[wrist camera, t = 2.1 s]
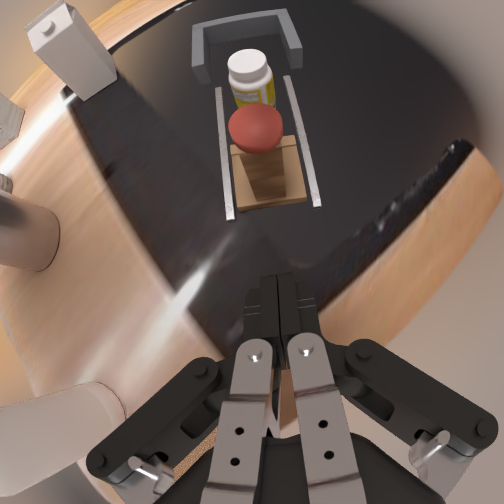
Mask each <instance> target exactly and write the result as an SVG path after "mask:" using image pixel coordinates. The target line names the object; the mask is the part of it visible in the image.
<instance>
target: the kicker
mask: <svg viewBox="0 0 504 504" xmlns="http://www.w3.org/2000/svg"><path fill="white" fill-rule="evenodd" d="M229 132H230V134H231V137H232V139H233V142H234V144H235V145H230V150H231V156H232V163H233V164H232V165H233V173H234V183H235V192H236V201H237V208H238V210H239V211H240V212H243V211H249V210H255V209H262V208H268V207H274V206H281V205H288V204H295V203H302V202H306V199H307V198H306V197H307V196H306V191H305V185H304V180H303V175H302V171H301V166H300V161H299V156H298V151H297V147H296V141H295V137H294V135H292V136H283V137H282V135H283V127H282V118H281V116H280V114H279V112H278V111H277V110H276V109H275V108H273V107H272V106H270V105H267V104H263V103H252V104H248V105H245V106H242V107H241V108H239V109H238V110H236V111H235V112H234V114H233V115H232V116H231V118H230V121H229Z"/></svg>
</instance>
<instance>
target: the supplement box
mask: <svg viewBox="0 0 504 504" xmlns="http://www.w3.org/2000/svg"><path fill="white" fill-rule="evenodd" d="M24 112H25V111H24V110H22V109H21V108H20V107H18V106H17V105H16V104H14V103H13V102H12V101H10V100H9V99H8V98H6V97H5V96H4V95H2V94H1V93H0V149H2V148H3V147H5V146H6V145H7V144H9V143H10V142H11V141H12V140H14V139H15V138H16V137H18V134H19V130H20V126H21V122H22V119H23V115H24Z"/></svg>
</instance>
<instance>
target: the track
mask: <svg viewBox="0 0 504 504" xmlns="http://www.w3.org/2000/svg"><path fill="white" fill-rule="evenodd" d="M284 83H285V86H286V90H287V94H288V98H289V102H290V106H291V109H292V113H293V117H294V122H295V126H296V130H297V134H298V138H299V143H300V147H301V151H302V156H303V161H304V165H305V170H306V175H307V179H308V185H309V190H310V195H311V199H312V205H313V209H318V208H321V202H320V196H319V192H318V187H317V183H316V177H315V173H314V168H313V164H312V160H311V155H310V151H309V147H308V142H307V138H306V134H305V130H304V126H303V122H302V119H301V115H300V111H299V107H298V104H297V100H296V96H295V93H294V89H293V86H292V82H291V79H290V76H284ZM222 92H223V91H222V88H221V87H218V88H215V93H216V106H217V117H218V129H219V142H220V153H221V165H222V175H223V186H224V197H225V207H226V217H227V221H228V222H232V221H236V217H235V208H234V199H233V190H232V180H231V172H230V162H229V152H228V142H227V133H226V122H225V112H224V102H223V93H222Z"/></svg>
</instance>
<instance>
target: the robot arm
mask: <svg viewBox="0 0 504 504" xmlns="http://www.w3.org/2000/svg"><path fill="white" fill-rule="evenodd" d="M58 242H59V224H58V220H57V218H56V216H55V215H54V214H53V213H52V212H51V211H49V210H46V209H44V208H42V207H39V206H37V205H35V204H33V203H30V202H28V201H26V200H24V199H21V198H19V197H17V196H14V195H12V194H10V193H8V192H5V191H3V190H1V189H0V264H2V265H7V266H12V267H16V268H22V269H27V270H32V271H41V270H43V269H45V268H46V267H47V266H48V265H49V264H50V262H51V261H52V259H53V257H54V255H55V253H56V250H57V247H58ZM286 361H287V367H288V369H291V375H292V381H293V388H294V395H295V402H296V408H297V415H298V422H299V428H300V434H298V435H295V436H292V437H289V438H285V439H280V429H279V418H280V401H281V370H285V369H286ZM341 395H343V396H344V397H345V398H346V399H347V400H348V401H349V402H351V403H352V404H353V405H355V406H356V407H357V408H359V409H360V410H362V411H363V412H364V413H365V414H367V415H368V416H369V417H371V418H372V419H373V420H375V421H376V422H377V423H379V424H380V425H381V426H383V427H384V428H386V429H387V430H388V431H390V432H391V433H393V434H394V435H395V436H397V437H398V438H400V439H401V440H402V441H404V442H405V443H407V444H408V445H410V446H411V448H410V451H409V461H410V463H411V465H412V466H413V467H414V468H415V469H416V470H417V472H418V475H419V479H418V478H417V477H416V476H414V475H413V474H412V473H410V472H409V471H408V470H406V469H405V468H404V467H403V466H401V465H400V464H399V463H397V462H396V461H395V460H393V459H392V458H391V457H390V456H389V455H387V454H386V453H385V452H384V451H382V450H381V449H380V448H379V447H377V446H376V445H375V444H374V443H372V442H371V441H370V440H368V439H367V438H365V437H363V436H360V435H358V434H355V433H351V432H349V428H348V423H347V419H346V416H345V411H344V407H343V403H342V399H341ZM217 426H218V429H217V435H216V440H215V446H214V447H212V448H211V449H209V450H208V451H207V452H205V453H204V454H203V455H202V456H201V457H200V458H199V459H198V460H197V461H196V462H195V463H194V464H193V465H192V466H191V467H190V468H189V469H188V470H187V471H186V472H185V473H184V474H183V475H182V476H181V477H180V478H179V479H178V480H177V481H176V482H175V483H174V484H173V485H172V486H171V487H170V485H171V484H172V483H173V481H174V471H173V468H174V467H175V466H177V465H178V464H179V463H180V462H181V461H182V460H183V459H184V458H185V457H186V456H187V455H188V454H189V453H190V452H191V451H193V450H194V449H195V448H196V447H197V446H198V445H199V444H200V443H201V442H202V441H203V440H204V439H205V438H206V437H207V436H208V435H209V434H210V433H211V432H212V431H213V430H214V429H215V428H216V427H217ZM497 435H498V422H497V420H496V418H495V417H494V416H493V415H492V414H490V413H489V412H487V411H485V410H484V409H482V408H481V407H479V406H477V405H476V404H474V403H472V402H471V401H469V400H468V399H466V398H464V397H463V396H461V395H460V394H458V393H456V392H455V391H453V390H451V389H450V388H448V387H447V386H445V385H443V384H442V383H440V382H438V381H437V380H435V379H434V378H432V377H430V376H429V375H427V374H426V373H424V372H422V371H421V370H419V369H418V368H416V367H414V366H413V365H411V364H410V363H408V362H407V361H405V360H403V359H401V358H400V357H399V356H397V355H395V354H394V353H392V352H391V351H389V350H387V349H386V348H384V347H383V346H381V345H380V344H378V343H376V342H375V341H373V340H370V339H359V340H356V341H354V342H352V343H351V344H350V345H349V346H342V345H335V344H332V343H330V342H328V341H327V340H326V339H325V338H324V337H323V336H322V334H321V330H320V325H319V319H318V314H317V308H316V303H315V299H314V293H313V288H312V287H311V286H310V285H309V284H308V283H307V281H306V282H299V283H295V280H294V273H293V272H289V273H282V274H278V279H277V275H268V276H261V277H260V288H256V289H250V291H249V293H248V294H247V296H246V298H245V316H244V330H243V343H242V345H241V346H240V347H239V348H238V350H237V353H236V354H234V355H233V356H231V357H229V358H227V359H224V360H221V361H218V362H215V361H214V360H213V359H211V358H208V357H200V358H196V359H194V360H192V361H191V362H190V363H188V364H187V365H186V366H185V367H184V368H183V369H182V370H181V371H180V372H179V373H178V374H177V375H176V376H174V377H173V378H172V379H171V380H170V381H169V382H168V383H167V384H166V385H165V386H164V387H162V388H161V389H160V390H159V391H158V392H157V393H156V394H155V395H154V396H152V397H151V398H150V399H149V400H148V401H147V402H146V403H145V404H144V405H142V406H141V407H140V408H139V409H138V410H137V411H136V412H135V413H133V414H132V415H131V416H130V417H129V418H128V419H127V420H125V421H124V422H123V423H122V424H121V425H120V426H119V427H117V428H116V429H115V430H114V431H113V432H112V433H110V434H109V435H108V436H107V437H106V438H105V439H103V440H102V441H101V442H100V443H99V444H98V445H96V446H95V447H94V448H93V449H92V450H91V451H90V452H89V453H88V455H87V458H86V466H87V469H88V471H89V472H90V474H91V475H93V476H94V477H96V478H99V479H101V480H103V481H105V482H106V483H108V484H110V485H111V486H112V487H113V489H114V490H115V491H116V492H117V494H118V495H119V496H120V497H121V499H122V500H123V501H124V502H125V504H446V503H445V501H444V500H445V498H446V497H447V496H448V495H449V493H450V492H451V491H452V489H453V488H454V486H455V485H456V484H457V482H458V481H459V480H460V478H461V477H462V475H463V474H464V472H465V471H466V469H467V468H468V466H469V465H470V463H471V461H472V460H473V458H474V457H475V456H476V455H477V454H479V453H480V452H482V451H483V450H484V449H486V448H487V447H488V446H490V445H491V444H492V443H493V442H494V441H495V439H496V437H497ZM169 487H170V488H169ZM168 488H169V489H168Z"/></svg>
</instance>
